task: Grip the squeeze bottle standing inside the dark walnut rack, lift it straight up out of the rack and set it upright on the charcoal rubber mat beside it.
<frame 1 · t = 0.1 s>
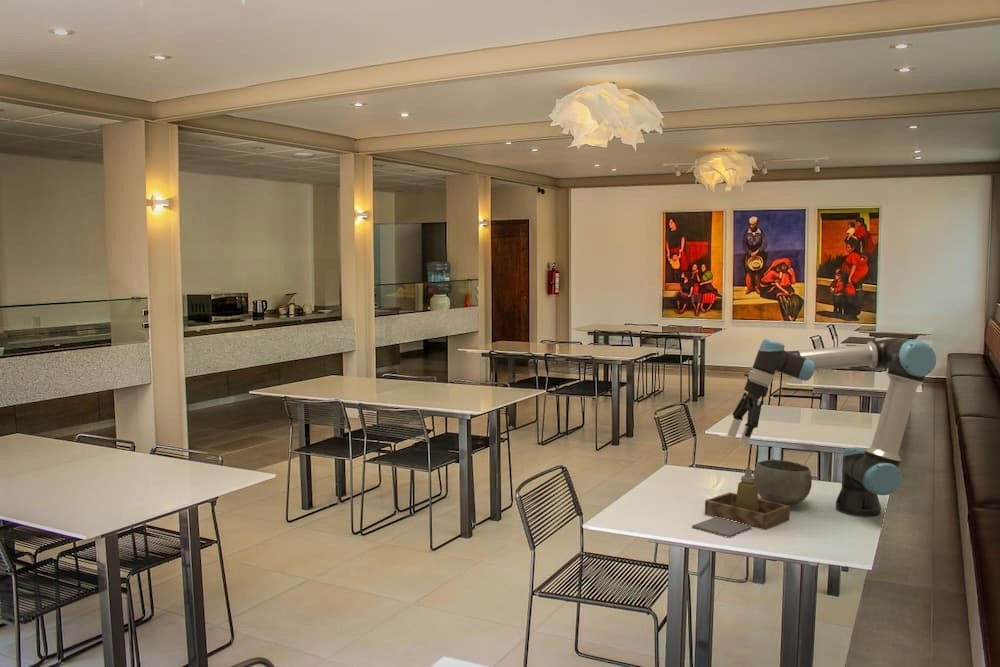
hand: (736, 440, 286), 28 cm above the table, tool tilted 20°, fingers open, 13 cm apart
bowl: (781, 504, 308), on the table
charcoal mat: (721, 528, 278), on the table
walnut rack: (746, 517, 291), on the table
squeeze bottle: (746, 517, 291), resting in walnut rack
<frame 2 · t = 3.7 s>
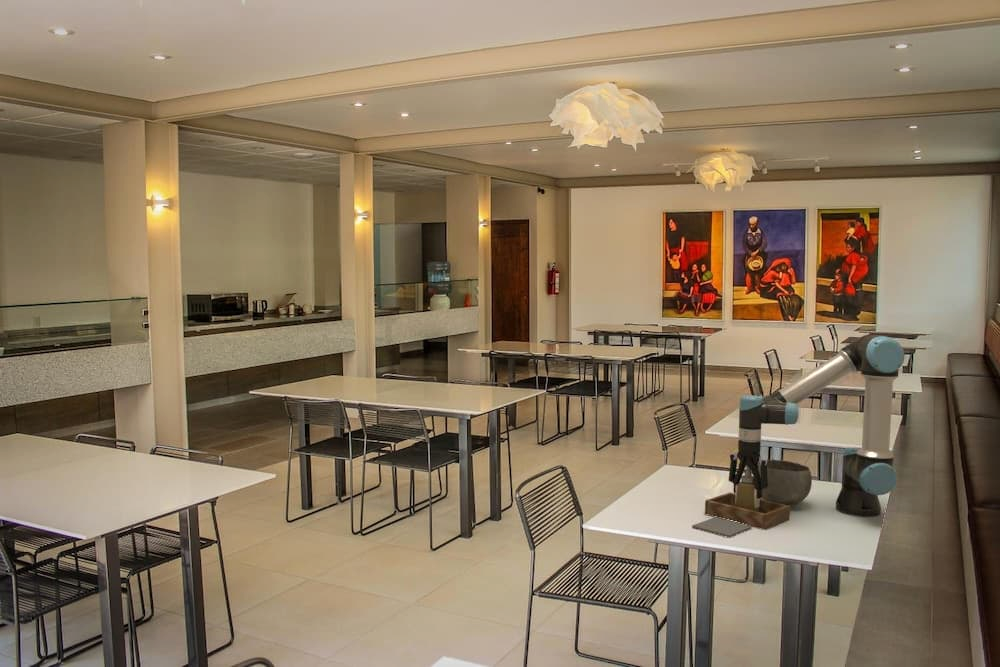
hand: (747, 504, 291), 4 cm above the table, tool pointing down, fingers closed on squeeze bottle, 6 cm apart
squeeze bottle: (746, 517, 291), resting in walnut rack, touching gripper
everything else where it was.
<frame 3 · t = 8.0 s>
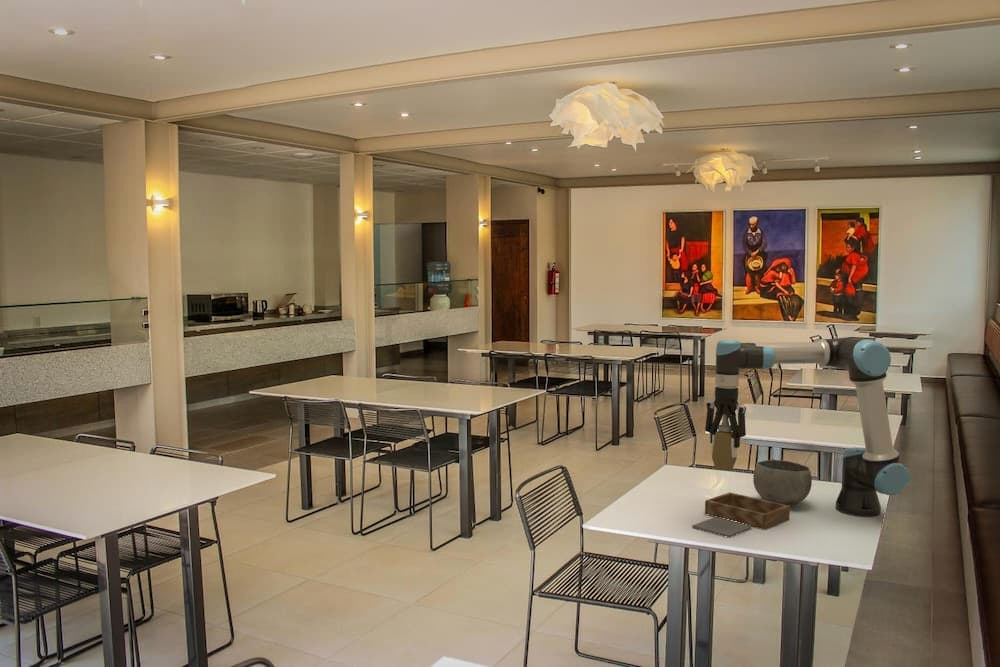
hand: (724, 455, 276), 25 cm above the table, tool pointing down, fingers closed on squeeze bottle, 6 cm apart
squeeze bottle: (723, 468, 276), point 20 cm above the table, touching gripper
everything else where it was.
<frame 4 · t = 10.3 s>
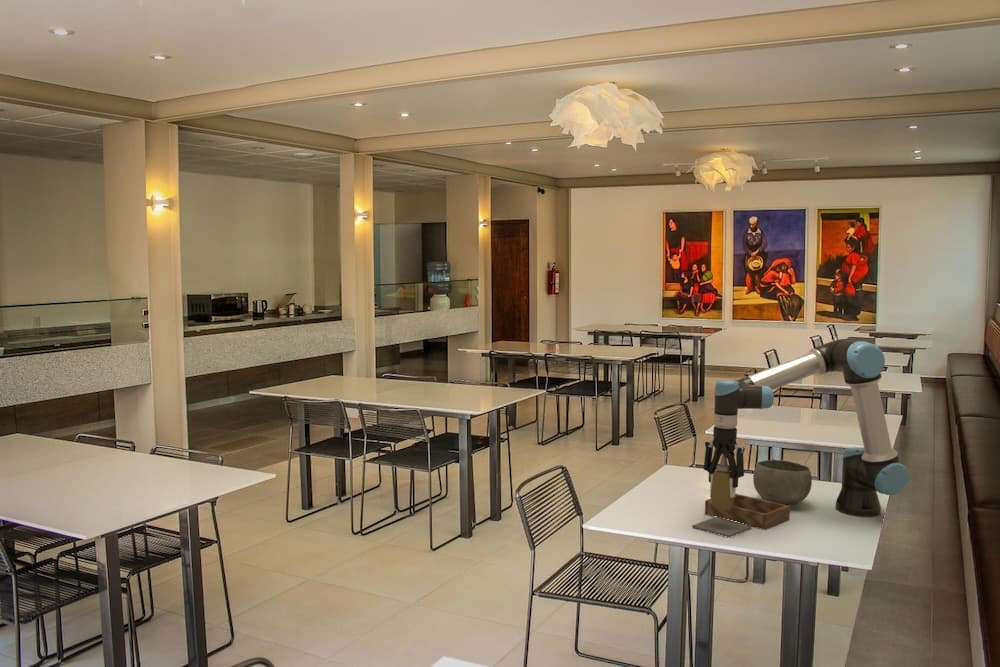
hand: (722, 494, 277), 12 cm above the table, tool pointing down, fingers closed on squeeze bottle, 6 cm apart
squeeze bottle: (722, 508, 277), point 7 cm above the table, touching gripper
everything else where it was.
when the fingers open (7 cm above the table, at t = 12.1 s): squeeze bottle drops 2 cm, resting on charcoal mat.
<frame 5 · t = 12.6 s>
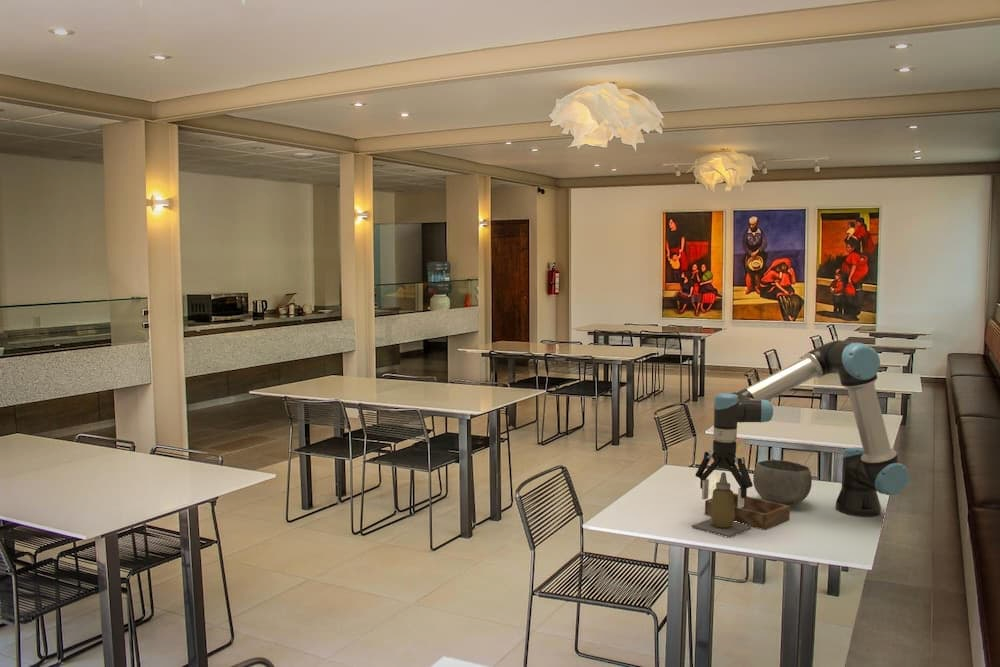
hand: (722, 503, 277), 9 cm above the table, tool pointing down, fingers open, 13 cm apart
squeeze bottle: (722, 526, 278), point 1 cm above the table, touching charcoal mat
everything else where it was.
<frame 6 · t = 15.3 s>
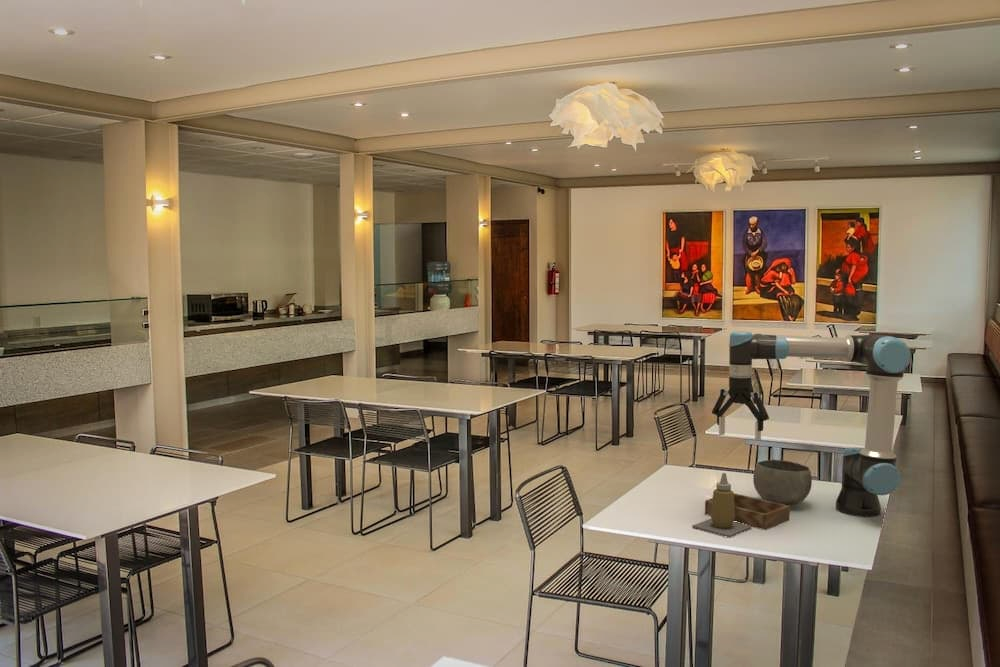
hand: (739, 437, 287), 29 cm above the table, tool pointing down, fingers open, 13 cm apart
nothing on the table moved.
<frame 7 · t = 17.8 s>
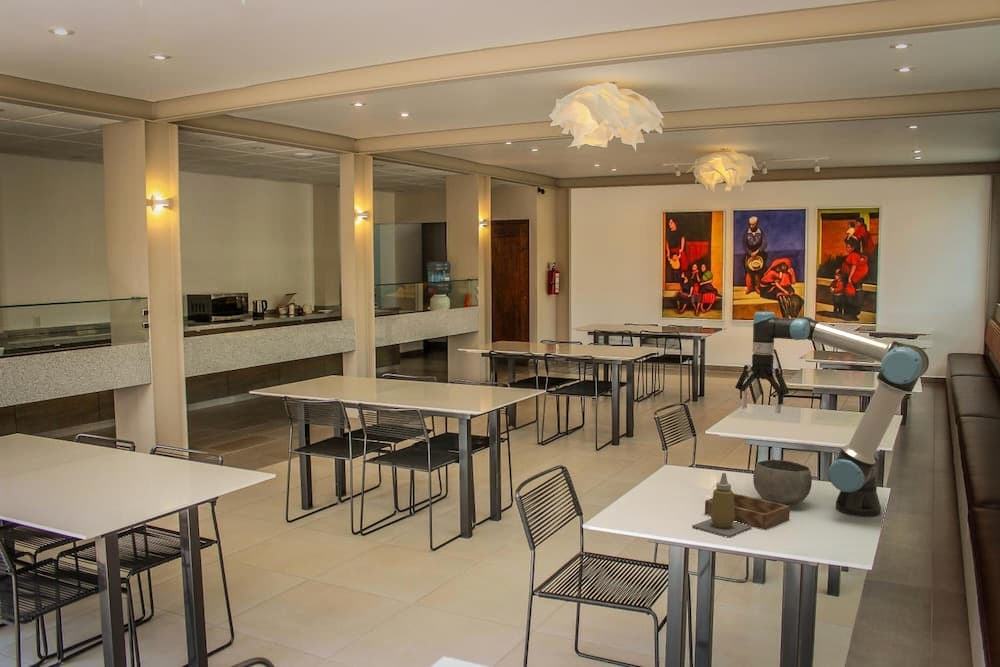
hand: (760, 410, 307), 35 cm above the table, tool pointing down, fingers open, 13 cm apart
nothing on the table moved.
at the end: squeeze bottle inside the target area on the charcoal mat (0.1 cm from its centre), point 0.6 cm above the charcoal mat's base; squeeze bottle tilted 0°; the gripper is holding nothing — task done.
